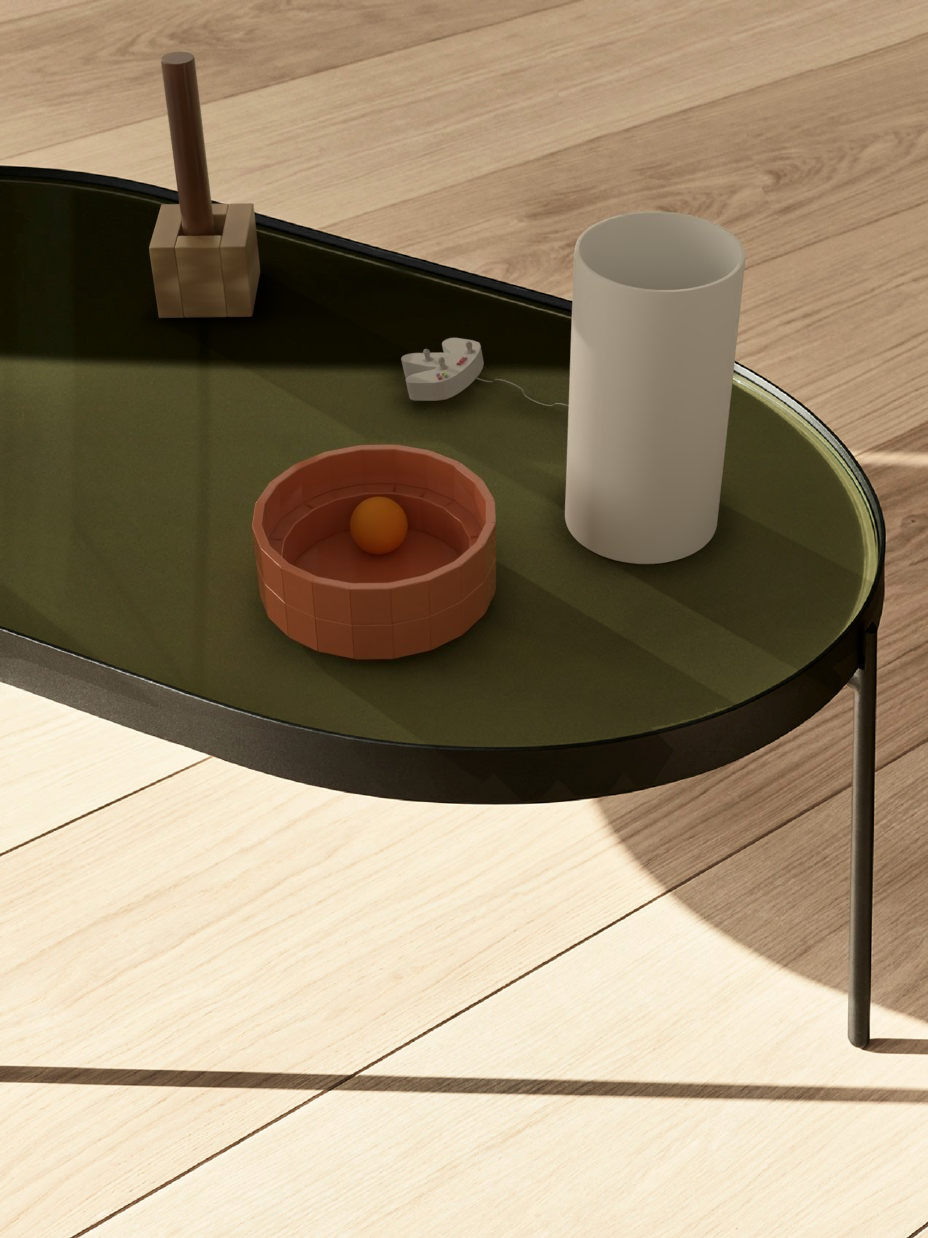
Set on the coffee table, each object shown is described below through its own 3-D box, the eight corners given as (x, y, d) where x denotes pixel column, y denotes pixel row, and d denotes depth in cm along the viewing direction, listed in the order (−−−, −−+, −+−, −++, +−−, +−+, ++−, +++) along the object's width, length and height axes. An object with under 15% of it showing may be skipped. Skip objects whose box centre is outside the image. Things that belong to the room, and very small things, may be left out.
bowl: (251, 670, 82) (241, 590, 79) (271, 522, 91) (263, 445, 88) (498, 667, 82) (498, 587, 79) (493, 519, 91) (493, 442, 88)
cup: (746, 511, 91) (779, 243, 81) (659, 584, 86) (681, 310, 76) (624, 456, 95) (640, 195, 85) (534, 523, 91) (539, 255, 80)
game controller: (408, 356, 104) (407, 318, 102) (594, 371, 103) (596, 334, 101) (391, 405, 100) (389, 367, 98) (584, 422, 98) (586, 383, 97)
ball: (350, 566, 87) (346, 520, 85) (352, 531, 89) (349, 485, 87) (408, 565, 87) (406, 519, 85) (409, 530, 89) (407, 484, 87)
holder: (159, 318, 108) (148, 247, 105) (170, 272, 112) (161, 203, 109) (252, 317, 108) (245, 246, 105) (260, 271, 112) (253, 202, 109)
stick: (188, 303, 109) (156, 63, 99) (195, 288, 111) (165, 50, 100) (218, 305, 109) (189, 64, 99) (225, 290, 110) (198, 51, 100)
